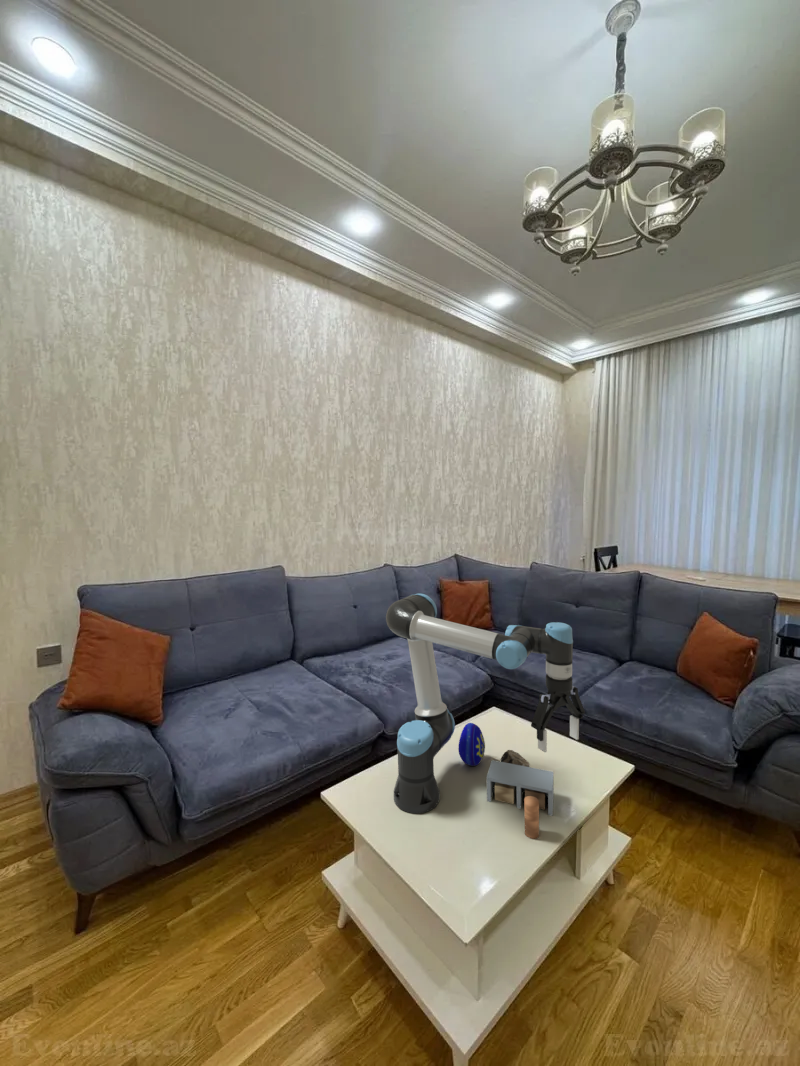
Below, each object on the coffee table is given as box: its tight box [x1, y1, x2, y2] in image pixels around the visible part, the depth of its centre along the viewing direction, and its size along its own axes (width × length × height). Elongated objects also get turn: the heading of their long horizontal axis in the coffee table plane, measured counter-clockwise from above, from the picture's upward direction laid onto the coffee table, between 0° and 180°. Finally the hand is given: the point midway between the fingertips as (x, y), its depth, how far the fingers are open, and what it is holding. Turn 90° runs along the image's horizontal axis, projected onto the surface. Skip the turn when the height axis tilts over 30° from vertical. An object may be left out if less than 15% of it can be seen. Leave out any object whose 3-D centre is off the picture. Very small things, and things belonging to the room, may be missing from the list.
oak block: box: [494, 782, 517, 805], centre depth 141 cm, size 6×6×5 cm
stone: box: [500, 749, 531, 767], centre depth 152 cm, size 7×12×7 cm, turn 33°
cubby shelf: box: [486, 759, 555, 817], centre depth 139 cm, size 20×10×8 cm, turn 68°
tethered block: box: [523, 788, 547, 840], centre depth 131 cm, size 6×20×10 cm, turn 158°
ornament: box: [457, 722, 486, 767], centre depth 159 cm, size 11×9×15 cm
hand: (558, 743), depth 130 cm, fingers open, 13 cm apart
